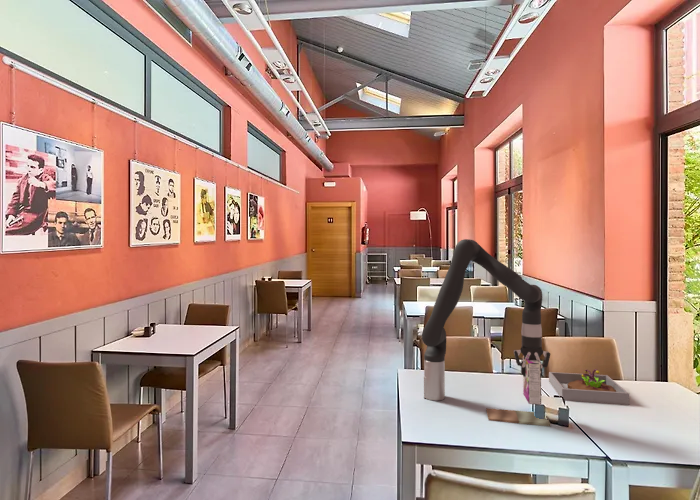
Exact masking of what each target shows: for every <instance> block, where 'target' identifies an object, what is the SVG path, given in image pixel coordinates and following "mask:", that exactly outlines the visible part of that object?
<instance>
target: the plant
mask: <svg viewBox="0 0 700 500" xmlns="http://www.w3.org/2000/svg"><path fill="white" fill-rule="evenodd" d="M595 373H596V375H600V370H598V369H596V368H595V369H593V371H592V372H591V371H590V370H589V369H585V370H584V373H581V374H582V378H583V379H584V380H576V381H573V382H570V383H567V388H566V389H579V390H594V391H609V392H616V390H615V389H614V388H613V387H612V386H610V385H607V384H604V383H602V382H604V381H605V380H601V381H599V382H598V379H599V378H596V377H594V375H595ZM589 374H590V375H589ZM585 375H588V376H589V377H588V376H587V379H586V378H585Z"/></svg>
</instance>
